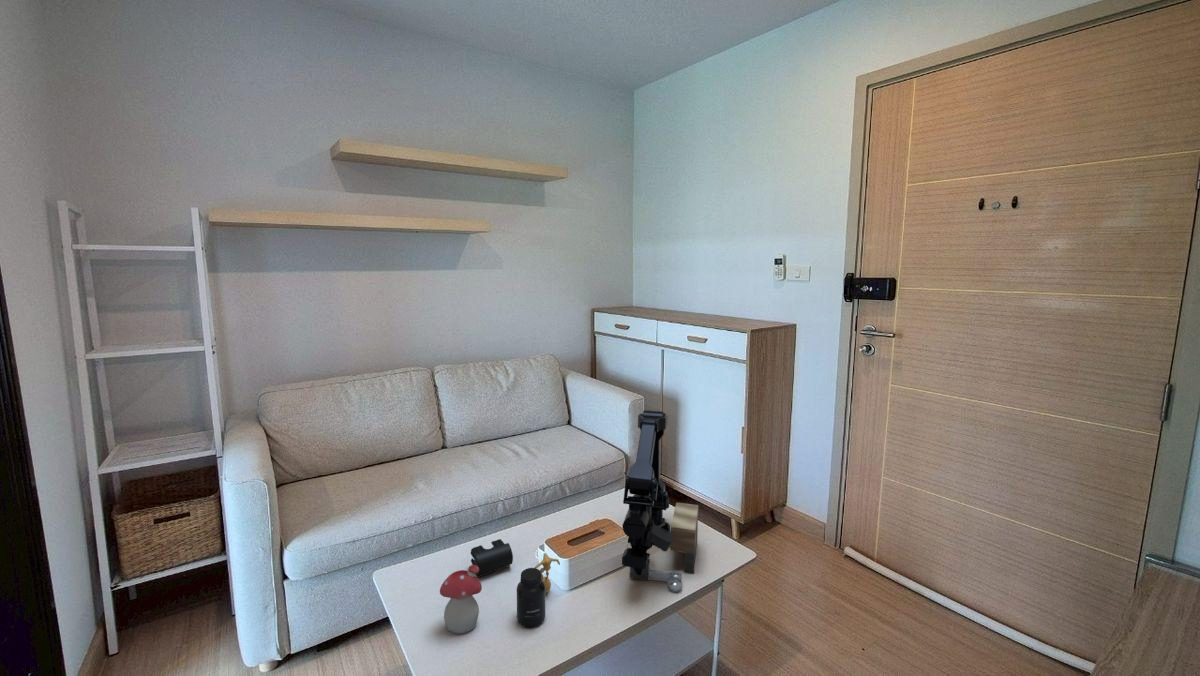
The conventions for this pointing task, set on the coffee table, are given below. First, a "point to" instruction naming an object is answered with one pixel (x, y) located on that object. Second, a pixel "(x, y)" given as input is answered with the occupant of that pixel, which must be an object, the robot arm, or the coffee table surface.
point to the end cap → (492, 557)
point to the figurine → (546, 567)
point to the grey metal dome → (674, 585)
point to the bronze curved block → (685, 533)
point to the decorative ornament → (461, 600)
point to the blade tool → (654, 574)
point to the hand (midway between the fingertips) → (639, 571)
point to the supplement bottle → (530, 598)
